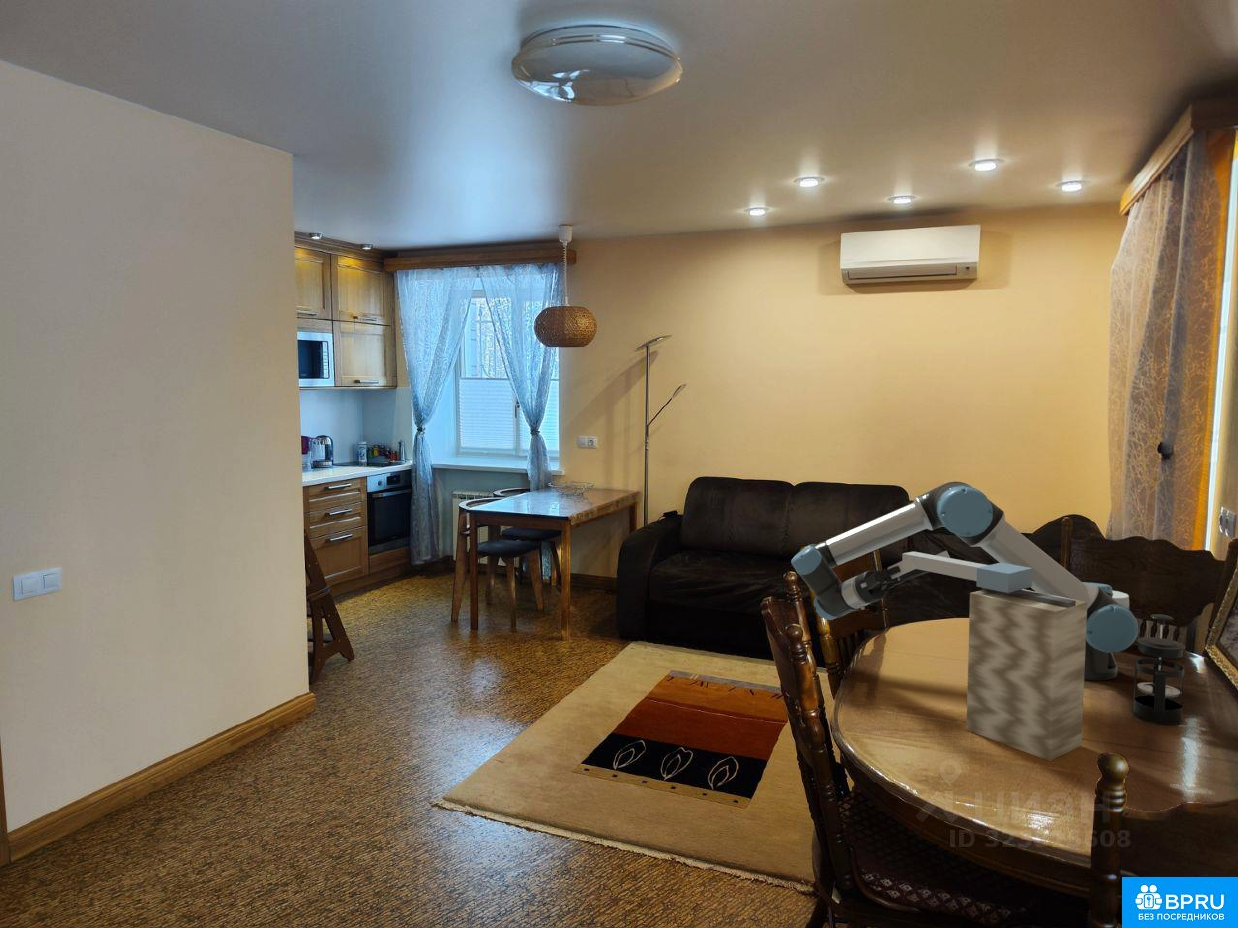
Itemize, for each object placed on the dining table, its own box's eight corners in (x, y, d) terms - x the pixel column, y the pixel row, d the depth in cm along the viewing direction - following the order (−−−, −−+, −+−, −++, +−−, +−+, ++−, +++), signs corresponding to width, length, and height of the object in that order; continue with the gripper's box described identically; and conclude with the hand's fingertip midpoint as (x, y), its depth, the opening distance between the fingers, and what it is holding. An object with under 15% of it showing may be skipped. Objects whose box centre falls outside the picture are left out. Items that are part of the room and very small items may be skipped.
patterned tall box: (966, 729, 172) (970, 588, 169) (998, 716, 178) (1002, 580, 176) (1050, 760, 157) (1055, 606, 154) (1081, 745, 163) (1087, 597, 161)
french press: (1131, 704, 184) (1135, 607, 182) (1181, 712, 179) (1186, 612, 177) (1132, 722, 174) (1137, 619, 172) (1185, 731, 169) (1190, 625, 167)
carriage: (895, 569, 186) (895, 552, 186) (919, 564, 191) (919, 548, 191) (1007, 592, 164) (1008, 573, 163) (1032, 586, 169) (1032, 568, 168)
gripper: (902, 596, 205) (969, 568, 189) (836, 611, 192) (902, 582, 175) (890, 568, 208) (955, 538, 192) (825, 581, 194) (889, 550, 178)
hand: (930, 559), depth 184 cm, fingers open, 13 cm apart
